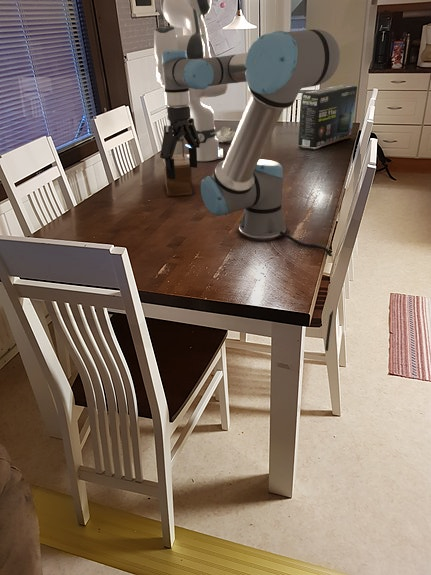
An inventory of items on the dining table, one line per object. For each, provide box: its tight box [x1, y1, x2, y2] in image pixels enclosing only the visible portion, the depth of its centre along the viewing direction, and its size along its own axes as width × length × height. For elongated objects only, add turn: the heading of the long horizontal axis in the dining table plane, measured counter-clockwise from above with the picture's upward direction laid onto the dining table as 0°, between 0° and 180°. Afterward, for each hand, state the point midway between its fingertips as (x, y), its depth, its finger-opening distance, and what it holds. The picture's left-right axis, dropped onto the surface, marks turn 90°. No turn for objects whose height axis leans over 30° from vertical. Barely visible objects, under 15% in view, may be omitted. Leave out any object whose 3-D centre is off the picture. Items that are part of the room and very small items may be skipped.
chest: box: [162, 159, 193, 197], centre depth 186 cm, size 15×10×11 cm, turn 9°
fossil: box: [216, 126, 237, 145], centre depth 256 cm, size 18×11×15 cm
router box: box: [297, 84, 358, 151], centre depth 238 cm, size 36×11×27 cm, turn 134°
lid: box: [162, 136, 190, 169], centre depth 181 cm, size 16×10×9 cm, turn 9°
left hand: (171, 114), depth 179 cm, fingers open, 8 cm apart
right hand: (182, 172), depth 154 cm, fingers open, 13 cm apart
